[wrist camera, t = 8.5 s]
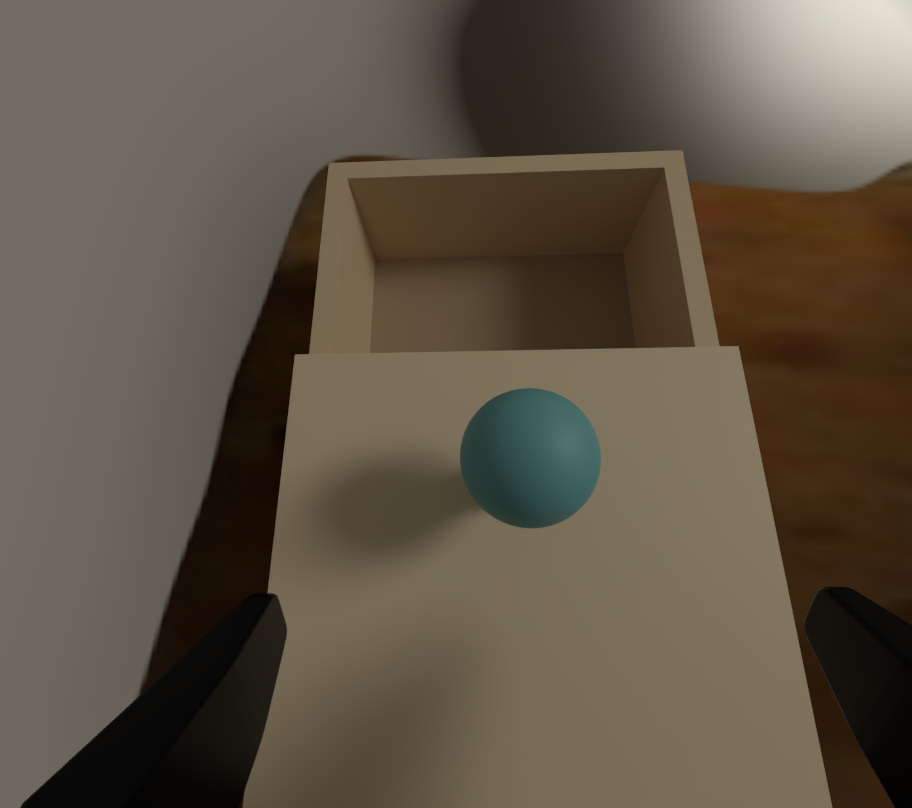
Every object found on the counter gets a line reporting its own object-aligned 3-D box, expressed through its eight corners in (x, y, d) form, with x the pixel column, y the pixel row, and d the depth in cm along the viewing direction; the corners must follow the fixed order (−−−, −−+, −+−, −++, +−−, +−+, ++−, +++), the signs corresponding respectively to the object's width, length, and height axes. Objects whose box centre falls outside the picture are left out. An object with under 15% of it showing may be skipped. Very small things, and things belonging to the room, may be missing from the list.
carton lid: (817, 808, 12) (1091, 1012, 6) (253, 796, 12) (88, 972, 7) (728, 353, 16) (855, 251, 10) (301, 361, 16) (216, 268, 11)
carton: (666, 480, 20) (739, 451, 15) (347, 482, 21) (298, 455, 15) (633, 246, 24) (682, 150, 18) (363, 254, 25) (329, 163, 19)
